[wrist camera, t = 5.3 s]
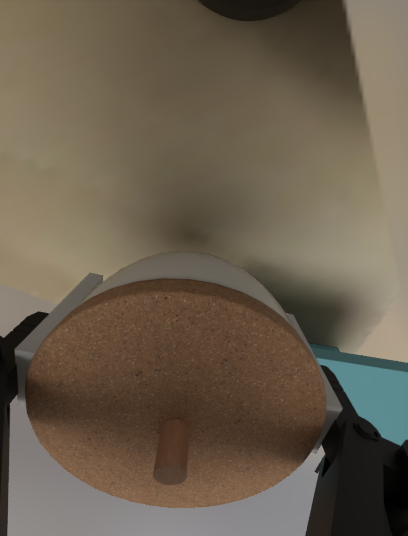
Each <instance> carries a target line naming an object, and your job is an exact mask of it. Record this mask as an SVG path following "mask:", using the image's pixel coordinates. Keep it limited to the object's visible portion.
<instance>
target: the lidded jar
mask: <svg viewBox="0 0 408 536" xmlns="http://www.w3.org/2000/svg"><path fill="white" fill-rule="evenodd" d="M25 398H26V409H27V414H28V417H29V420H30V423H31V425H32V428H33V430H34V432H35V434H36V436H37V438H38V439H39V441H40V443H41V444H42V446H43V447H44V448H45V449H46V450H47V452H48V453H49V454H50V455H51V456H52V457H53V458H54V459H55V460H56V461H57V462H58V463H59V464H60V465H61V466H62V467H63V468H64V469H65V470H67V471H68V472H70V473H71V474H72V475H74V476H75V477H77V478H78V479H80V480H81V481H83V482H85V483H87V484H88V485H91V486H92V487H94V488H96V489H98V490H100V491H103V492H105V493H108V494H110V495H113V496H116V497H119V498H122V499H125V500H128V501H131V502H136V503H141V504H146V505H152V506H160V507H168V508H194V507H209V506H215V505H221V504H226V503H230V502H234V501H238V500H242V499H245V498H247V497H250V496H253V495H255V494H258V493H260V492H262V491H264V490H266V489H268V488H270V487H272V486H274V485H276V484H277V483H279V482H280V481H282V480H283V479H285V478H286V477H287V476H289V475H290V474H291V473H292V472H293V471H295V470H296V469H297V468H298V467H299V466H300V465H301V464H302V463H303V462H304V461H305V459H306V458H307V457H308V455H309V454H310V453H311V451H312V450H313V448H314V446H315V445H316V443H317V441H318V439H319V437H320V435H321V431H322V428H323V424H324V421H325V417H326V403H327V398H326V392H325V386H324V381H323V378H322V376H321V373H320V371H319V369H318V366H317V364H316V362H315V360H314V357H313V356H312V354H311V352H310V350H309V349H308V347H307V346H306V344H305V343H304V341H303V340H302V338H301V337H300V335H299V334H298V333H297V331H296V330H295V328H294V326H293V325H292V323H291V321H290V319H289V318H288V316H287V315H286V313H285V312H284V310H283V309H282V307H281V306H280V304H279V303H278V302H277V300H276V299H275V298H274V297H273V295H272V294H271V293H270V292H269V291H268V290H267V289H266V288H265V287H264V286H263V285H262V284H261V283H260V282H259V281H258V280H257V279H255V278H254V277H253V276H252V275H250V274H249V273H248V272H246V271H245V270H243V269H242V268H241V267H239V266H237V265H235V264H233V263H231V262H229V261H227V260H225V259H222V258H219V257H216V256H213V255H209V254H203V253H198V252H180V251H176V252H168V253H160V254H156V255H153V256H149V257H146V258H143V259H141V260H139V261H137V262H135V263H132V264H130V265H128V266H126V267H124V268H122V269H120V270H119V271H118V272H116V273H115V274H113V275H112V276H110V277H109V278H107V279H106V280H105V281H104V282H102V283H101V284H100V285H98V286H97V287H96V288H95V289H94V290H93V291H92V292H91V293H90V294H89V295H88V296H87V297H86V298H85V299H84V300H83V301H82V302H81V303H80V304H79V305H78V306H77V307H76V308H75V309H73V310H72V311H71V312H70V313H69V314H68V315H67V316H66V317H65V318H64V319H63V320H62V321H61V322H60V323H59V324H58V325H57V326H56V327H55V328H54V329H53V330H52V331H51V332H50V333H49V334H48V335H47V337H46V338H45V339H44V340H43V342H42V343H41V345H40V347H39V348H38V350H37V351H36V353H35V354H34V356H33V358H32V361H31V364H30V367H29V369H28V372H27V377H26V386H25Z"/></svg>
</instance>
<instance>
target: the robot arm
mask: <svg viewBox="0 0 408 536" xmlns="http://www.w3.org/2000/svg"><path fill="white" fill-rule="evenodd" d="M199 1H201V2H202V3H203V4H204V5H206V6H207V7H208V8H210V9H211V10H213V11H215V12H217V13H219V14H221V15H223V16H226V17H229V18H232V19H237V20H245V21H253V20H262V19H267V18H270V17H273V16H276V15H278V14H281V13H283V12H285V11H287V10H288V9H290V8H292V7H293V6H295V5H296V4H297V3H299V2H300V1H301V0H199ZM102 282H103V275H98V274H93V273H89V274H88V275H87V276H86V277H85V278H84V279H83V280H82V281H81V282H80V283H79V284H78V285H77V286H76V287H75V288H74V289H73V290H72V292H71V293H70V294H69V295H68V296H67V297H66V298H65V299H64V300H63V301H62V302H61V303H60V304H59V305H58V306H57V307H56V308H55V309H54V310H53V311H52V312H51V313H50V314H48V313H44V312H39V311H38V312H37V313H34V314H32V315H30V316H28V317H26V318H25V319H24V320H23V321H22V322H21V323H20V324H19V325H18V326H17V327H15V328H14V329H13V331H11V332H10V333H9V334H8V335H7V336H6V337H4V338H3V337H1V336H0V536H7V524H8V481H9V437H10V435H9V434H10V403H11V401H12V400H13V399H14V398H15V396H16V395H17V398H18V405H24V406H26V398H25V386H26V377H27V372H28V369H29V367H30V364H31V361H32V358H33V356H34V354H35V353H36V351H37V350H38V348H39V347H40V345H41V343H42V342H43V340H44V339H45V338H46V337H47V335H48V334H49V333H50V332H51V331H52V330H53V329H54V328H55V327H56V326H57V325H58V324H59V323H60V322H61V321H62V320H63V319H64V318H65V317H66V316H67V315H68V314H69V313H70V312H71V311H72V310H73V309H75V308H76V307H77V306H78V305H79V304H80V303H81V302H82V301H83V300H84V299H85V298H86V297H87V296H88V295H89V294H90V293H91V292H92V291H93V290H94V289H95V288H96V287H97V286H98V285H100V284H101V283H102ZM286 315H287V316H288V318H289V319H290V321H291V323H292V325H293V326H294V328H295V330H296V331H297V333H298V334H299V335H300V337H301V338H302V340H303V341H304V343H305V344H306V346H307V347H308V349H309V350H310V352H311V354H312V356H313V357H314V360H315V362H316V364H317V366H318V369H319V371H320V373H321V376H322V378H323V381H324V386H325V392H326V398H327V403H326V417H325V421H324V424H323V428H322V431H321V435H320V437H319V439H318V441H317V443H316V445H315V446H314V448H313V450H312V451H311V453H317V451H318V449H319V448H320V446H321V444H322V447H323V449H324V452H325V456H324V457H323V458H322V460H321V462H320V463H319V465H318V467H317V468H316V470H315V472H316V473H318V471H319V475H318V480H317V484H316V489H315V493H314V498H313V503H312V508H311V512H310V517H309V521H308V526H307V531H306V536H408V440H405V441H404V443H403V444H402V445H401V446H400V445H398V444H396V443H393V442H391V441H389V440H387V439H385V438H382V437H381V434H380V433H379V431H378V430H377V429H376V428H375V427H374V426H373V425H372V423H370V422H369V421H367V420H366V419H364V418H362V417H360V416H359V415H358V414H357V412H356V410H355V408H354V407H353V405H352V403H351V402H350V400H349V398H348V396H347V395H346V393H345V392H344V389H343V388H342V386H341V385H340V382H339V381H338V379H337V377H336V376H335V374H334V373H333V372H332V371H331V370H330V369H329V368H328V367H327V366H324V365H320V364H319V363H318V361H317V359H316V357H315V355H314V353H313V351H312V349H311V347H310V346H309V344H308V342H307V340H306V338H305V336H304V334H303V332H302V331H301V329H300V327H299V325H298V323H297V321H296V319H295V317H294V315H293V314H288V313H286Z"/></svg>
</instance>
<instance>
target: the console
mask: <svg viewBox="0 0 408 536" xmlns="http://www.w3.org/2000/svg"><path fill="white" fill-rule="evenodd" d="M308 344H309V346H310V347H311V349H312V351H313V353H314V355H315V357H316V359H317V361H318V363H319V364H320V365H324V366H327V367H328V368H329V369H330V370H331V371H332V372H333V373H334V374H335V376H336V377H337V379H338V381H339V382H340V385H341V386H342V388H343V389H344V392H345V393H346V395H347V396H348V398H349V400H350V402H351V403H352V405H353V407H354V408H355V410H356V412H357V414H358V415H359V416H360V417H362V418H364V419H366V420H367V421H369V422H370V423H372V425H373V426H374V427H375V428H376V429H377V430H378V431H379V433H380V434H381V437H382V438H385V439H387V440H389V441H391V442H393V443H396V444H398V445H400V446H401V445H402V444H403V443H404V441H405V440H408V363H404V362H399V361H393V360H386V359H380V358H374V357H367V356H362V355H356V354H349V353H343V352H340V351H339V349H338V348H335V347H329V346H323V345H317V344H311V343H308Z"/></svg>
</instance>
